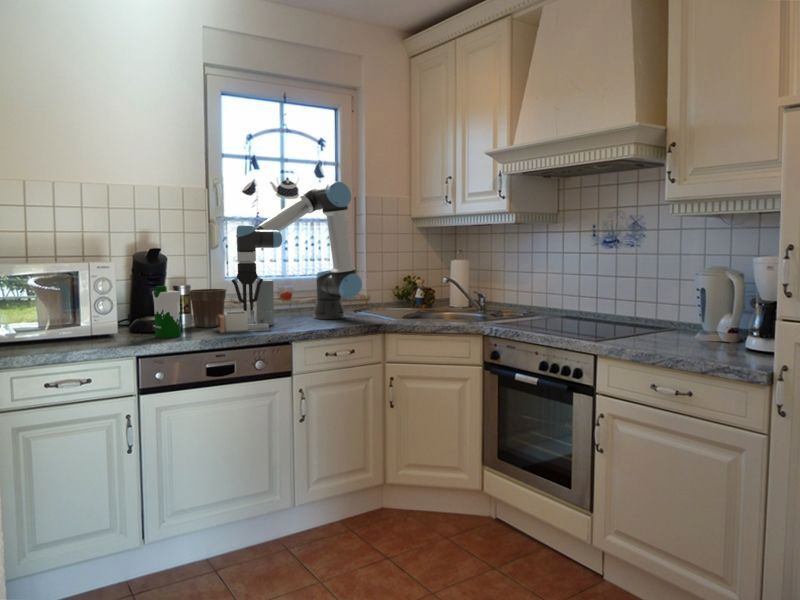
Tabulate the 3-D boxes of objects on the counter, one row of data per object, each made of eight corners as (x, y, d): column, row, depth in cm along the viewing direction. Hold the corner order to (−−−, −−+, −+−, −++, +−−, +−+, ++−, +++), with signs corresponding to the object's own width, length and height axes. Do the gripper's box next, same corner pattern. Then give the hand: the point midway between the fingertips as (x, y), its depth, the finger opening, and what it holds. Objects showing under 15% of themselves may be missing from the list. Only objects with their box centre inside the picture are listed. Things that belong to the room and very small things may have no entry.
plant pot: (188, 324, 275) (187, 288, 274) (226, 322, 281) (224, 287, 279) (190, 329, 260) (189, 291, 258) (229, 327, 266) (228, 290, 264)
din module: (246, 328, 260) (245, 310, 259) (248, 330, 254) (247, 311, 253) (224, 329, 256) (223, 311, 256) (225, 331, 251) (225, 312, 250)
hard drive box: (274, 325, 272) (273, 280, 270) (256, 326, 270) (255, 281, 268) (270, 321, 287) (269, 278, 285) (254, 321, 284) (253, 279, 282)
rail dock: (266, 327, 266) (266, 312, 265) (270, 331, 255) (270, 315, 254) (218, 329, 259) (218, 314, 258) (221, 333, 247) (220, 317, 247)
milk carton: (151, 337, 239) (149, 286, 237) (173, 334, 246) (171, 284, 244) (162, 339, 233) (160, 287, 231) (184, 336, 240) (182, 285, 238)
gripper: (261, 261, 260) (262, 316, 262) (229, 262, 256) (231, 318, 258) (263, 262, 253) (265, 318, 255) (231, 262, 249) (233, 320, 251)
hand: (248, 318), depth 257 cm, fingers closed
